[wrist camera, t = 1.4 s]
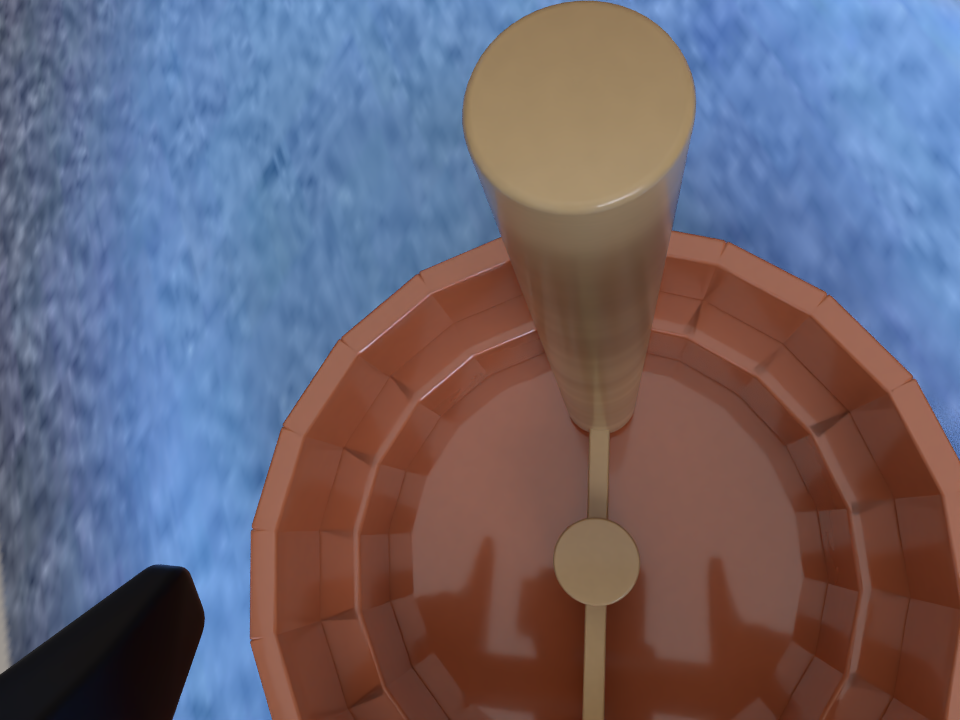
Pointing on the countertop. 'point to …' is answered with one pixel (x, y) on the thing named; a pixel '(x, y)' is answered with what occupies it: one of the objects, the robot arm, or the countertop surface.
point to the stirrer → (586, 236)
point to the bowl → (611, 514)
